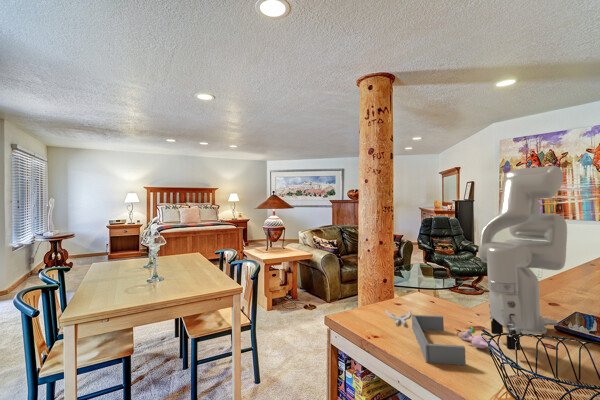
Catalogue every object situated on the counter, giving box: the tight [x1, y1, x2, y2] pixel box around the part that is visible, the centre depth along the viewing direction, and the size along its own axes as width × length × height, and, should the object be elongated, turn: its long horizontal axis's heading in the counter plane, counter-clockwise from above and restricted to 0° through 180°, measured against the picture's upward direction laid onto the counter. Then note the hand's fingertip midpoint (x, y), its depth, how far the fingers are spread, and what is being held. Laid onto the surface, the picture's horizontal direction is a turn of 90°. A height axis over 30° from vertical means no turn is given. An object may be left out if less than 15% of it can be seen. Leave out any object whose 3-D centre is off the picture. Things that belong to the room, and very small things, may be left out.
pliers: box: [385, 308, 412, 327], centre depth 113 cm, size 10×2×15 cm
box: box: [411, 314, 467, 366], centre depth 91 cm, size 10×22×5 cm, turn 168°
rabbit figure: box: [456, 326, 499, 350], centre depth 89 cm, size 6×6×15 cm
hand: (504, 341), depth 87 cm, fingers open, 9 cm apart
